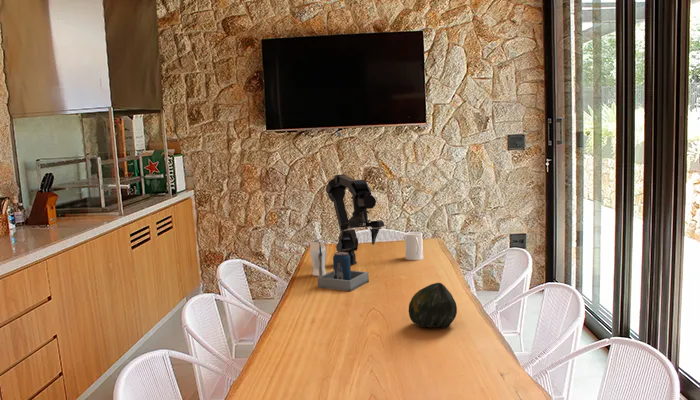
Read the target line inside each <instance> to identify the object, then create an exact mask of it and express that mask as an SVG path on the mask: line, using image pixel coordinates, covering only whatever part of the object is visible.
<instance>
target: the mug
mask: <svg viewBox="0 0 700 400" xmlns="http://www.w3.org/2000/svg"><path fill="white" fill-rule="evenodd" d="M404 240H405V243H404V244H405V258H404V259H405V260H407V261H421V260H424V249H423V248H424V247H423V246H424V244H423V242H424V241H423V232H421V231H408V232H407V231H406V232H405V233H404Z"/></svg>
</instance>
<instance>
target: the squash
mask: <svg viewBox="0 0 700 400" xmlns="http://www.w3.org/2000/svg"><path fill="white" fill-rule="evenodd" d="M457 307H458V306H457V302H456V300H455V299H454V296H453V295H452V293H451V292H450V291H449V289H448V288H447V287H446V286H445V284H443V283H442V282H436V283H434V282H433V283H431V284H429V285H427V286H425V287H423V288H421V289H419V290H418V291H417V292H415V294H414V295H413V296H412V297H411V300H410V301H409V304H408V316H409V319H410V321H411V323H413V324H414V325H417V326H418V327H420V328H427V327H428V328H433V327H434V328H440V329H444V328H447V327H449V326H451V324H452V323H453V322H454V321H455V319H456V317H457V313H458V308H457Z"/></svg>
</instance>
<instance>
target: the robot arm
mask: <svg viewBox="0 0 700 400" xmlns="http://www.w3.org/2000/svg"><path fill="white" fill-rule="evenodd" d="M347 188H348V192H349V193H350V194H351V195H352V196H351V197H350V198H351V200H352V207H353V212H351V213H352V214H351V215H352V216H351V217H350V218H349V217H348V214H347V209H346V205H345V201H344V198H345V195H346V190H347ZM325 192H326V194H327V196H328V198H329V200H330V201H331V202H332V203H333V207H334V210H335V215H336V219H337V222H338V223H337V224H338V228H339V235H338V237H337V240H338V241H337V243H336V246H335V248H336V249H335V250H336V252H348V254H349V256H350V267H351V266H353V265H354V264H355V265H356V264H357V261H356V259H357V258H356V257H357V256H356V252H355V251H358V248H359V239H358V236H357V233H356V229H355V228H370V229H369V231H370V233H371V234H370V235H371V243H372V244H371V245H372V246H373V245H375V244H376V239H377V237H378V234H379V231H380V230H381V229H382V228H383V227H385V224H384V221H383V220H382V219H377V220H372V221H370V219H369V218H368V214H369V209H374V208H375V207H376V205H377V200H376V197H375V196H373V195H372V190H371V188H370V186H369V185H368V183H367V181H366V180H365V179H355V178H353V177H350V176H348V175H347V174H345V173H343V174H336V175H334V177H333V178H332V179H331V180H329V181H328V182H327V184H326V187H325Z"/></svg>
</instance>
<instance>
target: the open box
mask: <svg viewBox="0 0 700 400" xmlns="http://www.w3.org/2000/svg"><path fill="white" fill-rule="evenodd" d="M369 277H370V276H369V272H368V271H362V270H361V271H359V270H352V269H351V280H341V279H334V271H333V270H332V271H329V272H326V274H325V275H323V276H317V288H320V289H329V290H336V291H337V290H338V291H344V292H353V291H355V290H357V289H358V288H360V287H362V286H363V285H366V284H367V283H369V280H370V279H369Z"/></svg>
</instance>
